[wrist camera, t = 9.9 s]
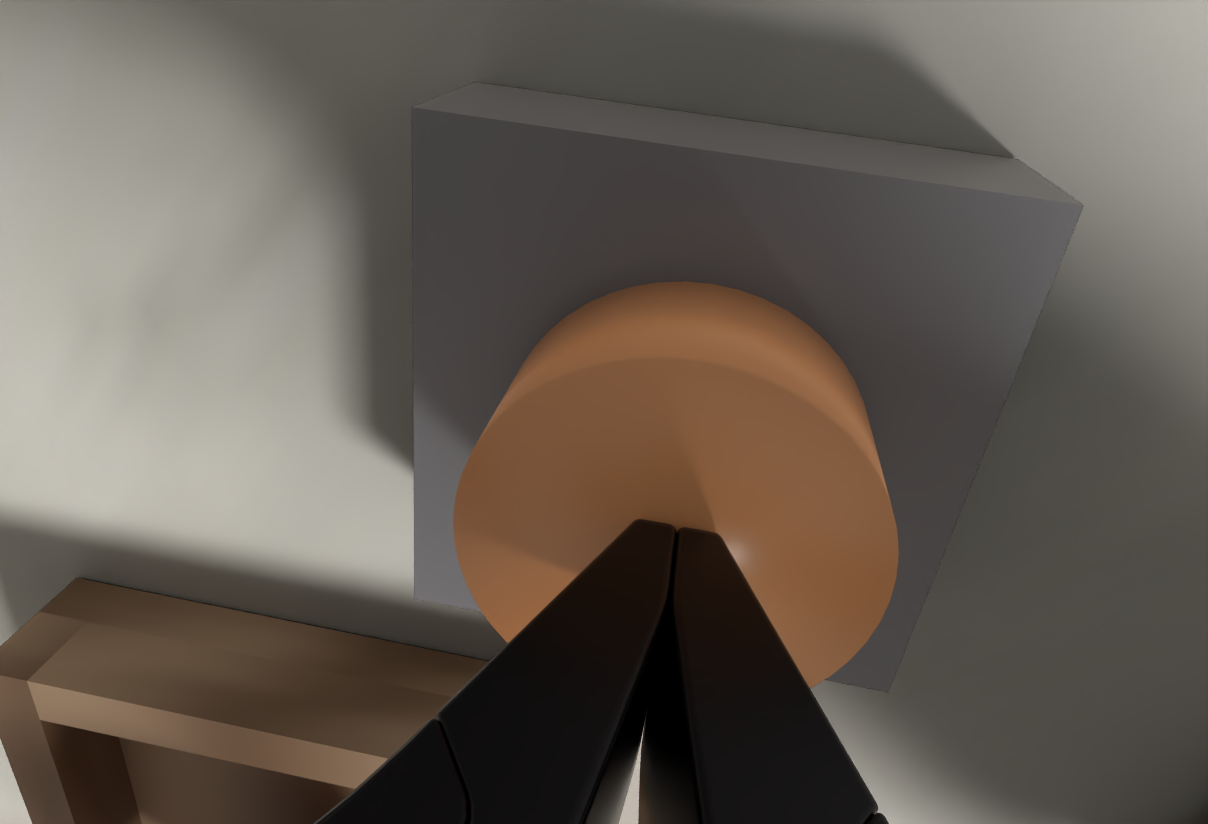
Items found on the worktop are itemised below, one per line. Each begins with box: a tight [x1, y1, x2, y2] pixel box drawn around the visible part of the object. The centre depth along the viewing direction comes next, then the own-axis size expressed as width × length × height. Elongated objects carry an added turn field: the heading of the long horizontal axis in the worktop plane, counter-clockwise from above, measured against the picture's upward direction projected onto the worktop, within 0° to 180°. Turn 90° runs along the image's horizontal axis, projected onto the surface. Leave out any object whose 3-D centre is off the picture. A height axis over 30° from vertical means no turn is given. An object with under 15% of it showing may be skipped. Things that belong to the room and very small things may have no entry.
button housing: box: [412, 82, 1084, 692], centre depth 11 cm, size 7×7×2 cm
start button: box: [453, 281, 899, 688], centre depth 9 cm, size 4×4×2 cm
